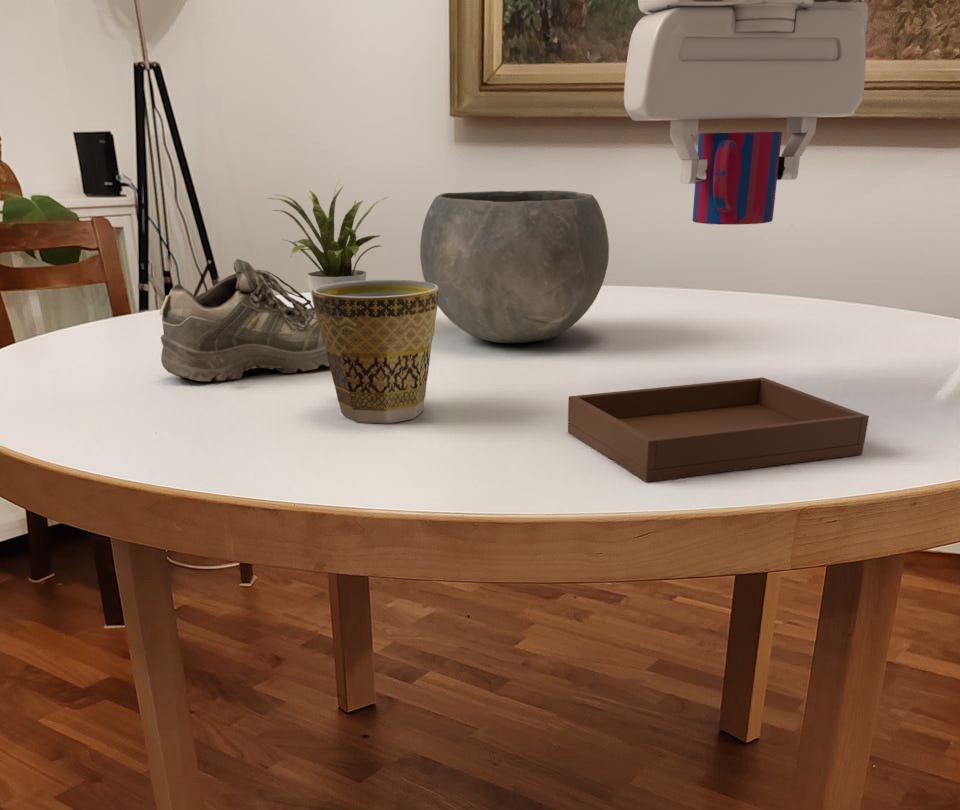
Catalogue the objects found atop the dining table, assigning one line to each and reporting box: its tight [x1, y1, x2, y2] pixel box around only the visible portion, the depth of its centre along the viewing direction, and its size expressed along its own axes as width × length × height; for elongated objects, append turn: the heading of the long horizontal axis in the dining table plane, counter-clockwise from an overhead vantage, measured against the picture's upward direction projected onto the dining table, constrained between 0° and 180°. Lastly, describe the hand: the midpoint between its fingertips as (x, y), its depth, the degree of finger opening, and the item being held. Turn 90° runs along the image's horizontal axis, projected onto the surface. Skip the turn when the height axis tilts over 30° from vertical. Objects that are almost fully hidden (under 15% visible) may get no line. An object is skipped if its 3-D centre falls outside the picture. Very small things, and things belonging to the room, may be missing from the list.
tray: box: [567, 377, 870, 483], centre depth 72 cm, size 17×13×3 cm
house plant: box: [266, 181, 389, 306], centre depth 115 cm, size 14×14×16 cm
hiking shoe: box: [159, 258, 330, 383], centre depth 97 cm, size 9×21×12 cm
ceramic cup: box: [311, 279, 439, 424], centre depth 81 cm, size 13×10×10 cm
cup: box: [692, 131, 783, 226], centre depth 81 cm, size 7×10×7 cm
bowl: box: [419, 190, 610, 345], centre depth 107 cm, size 20×20×15 cm
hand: (738, 181), depth 82 cm, fingers closed on cup, 7 cm apart
